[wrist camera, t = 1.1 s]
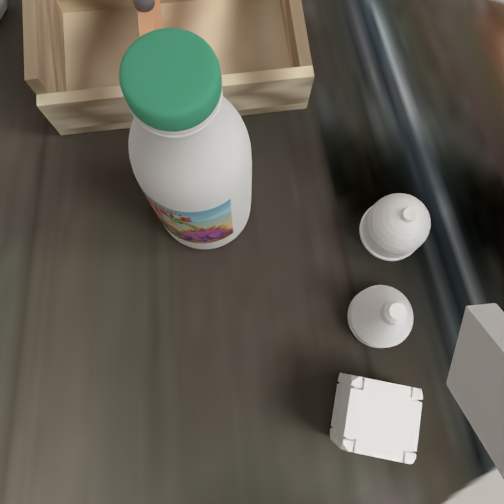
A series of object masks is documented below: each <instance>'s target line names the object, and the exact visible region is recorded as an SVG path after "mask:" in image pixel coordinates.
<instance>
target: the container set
mask: <svg viewBox="0 0 504 504" xmlns="http://www.w3.org/2000/svg"><path fill="white" fill-rule="evenodd" d="M430 227H431V219H430V215H429V212H428V210H427V208H426V207H425V205H424V204H423V203H422V202H421V201H420V200H418V199H417V198H416V197H414V196H412V195H408V194H404V193H395V194H390V195H387V196H385V197H383V198H381V199H380V200H378V201H377V202H376V203H375V204H374V205H373V206H371V207H370V208H369V209H368V210H367V211H366V212H365V213H364V215H363V217H362V219H361V221H360V225H359V233H360V238H361V241H362V243H363V245H364V247H365V248H366V249H367V250H368V251H369V252H370V253H371V254H372V255H373V256H375V257H377V258H379V259H382V260H385V261H398V260H402V259H404V258H406V257H408V256H410V255H411V254H412V253H413V252H414V251H415V250H416V249H418V248H419V247H420V246H421V245H422V244H423V243H424V242H425V240H426V239H427V237H428V235H429V232H430ZM348 324H349V327H350V329H351V331H352V333H353V334H354V336H355V337H356V338H357V339H358V340H359V341H361V342H362V343H363V344H365V345H367V346H370V347H373V348H388V347H393V346H396V345H398V344H399V343H401V342H402V341H404V340H405V339H406V338H407V336H408V335H409V334H410V331H411V329H412V326H413V310H412V307H411V305H410V303H409V301H408V299H407V298H406V297H405V296H404V295H403V294H402V293H401V292H400V291H398V290H397V289H395V288H393V287H390V286H387V285H374V286H371V287H368V288H366V289H364V290H363V291H361V292H359V293H358V294H357V295H356V296H355V297H354V298H353V300H352V301H351V303H350V305H349V309H348ZM338 382H340V383H339V384H337V388H336V395H335V401H334V408H333V414H332V421H331V427H333V428H330V439H331V440H332V441H333V442H334V443H335V444H336V445H337V446H338V447H339V448H340V449H342V450H345V451H348V452H352V451H353V452H354V453H358V454H362V455H367V456H372V457H377V458H382V459H386V460H391V461H396V462H401V463H402V462H403V463H406V464H413V463H414V461H415V459H416V454H415V453H414V452H412V451H415V452H417V445H418V436H419V428H420V419H421V410H422V402H419V401H418V400H423V394H422V389H419V388H414V387H409V386H404V385H399V384H394V383H389V382H384V381H380V380H375V379H370V378H365V377H360V376H355V375H350V374H344V373H340V374H339V377H338Z"/></svg>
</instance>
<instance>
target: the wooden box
mask: <svg viewBox="0 0 504 504" xmlns="http://www.w3.org/2000/svg"><path fill="white" fill-rule="evenodd" d="M160 4H161V13H162V23H163V28H179V29H184V30H187V31H190V32H193V33H195V34H196V35H198V36H200V37H201V38H202V39H204V40H205V41H206V42H207V43H208V44H209V45H210V47H211V48H212V49H213V51H214V53H215V55H216V56H217V59H218V61H219V65H220V70H221V77H222V90H223V96H224V97H225V98H226V99H227V100H228V101H229V102H230V103H231V104H232V105H233V106H234V107H235V109H236V110H237V111H238V113H239V114H240V116H242V115H251V114H260V113H270V112H279V111H288V110H297V109H306V108H307V104H308V100H309V96H310V92H311V88H312V84H313V80H314V71H313V66H312V60H311V54H310V48H309V43H308V37H307V31H306V25H305V20H304V14H303V8H302V2H301V0H160ZM22 7H23V44H24V80H25V81H26V83H27V84H28V85H29V86H30V88H31V89H32V90H33V91H34V93H35V94H36V104H37V107H38V108H39V110H40V111H41V112H42V113H43V114H44V116H45V117H46V118H47V119H48V120H49V122H50V123H51V124H52V125H53V126H54V127H55V129H56V130H57V131H58V132H59V133H60V135H70V134H79V133H88V132H97V131H106V130H115V129H124V128H131V124H132V121H133V119H134V116H133V115H132V113H131V110H130V108H129V106H128V104H127V102H126V100H125V98H124V96H123V93H122V90H121V87H120V81H119V69H120V64H121V60H122V58H123V56H124V54H125V52H126V50H127V49H128V48H129V46H130V45H131V44H132V43H133V42H134V41H135V40H137V39H138V38H139V25H138V14H137V10H136V8H135V6H134V3H133V0H22Z"/></svg>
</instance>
